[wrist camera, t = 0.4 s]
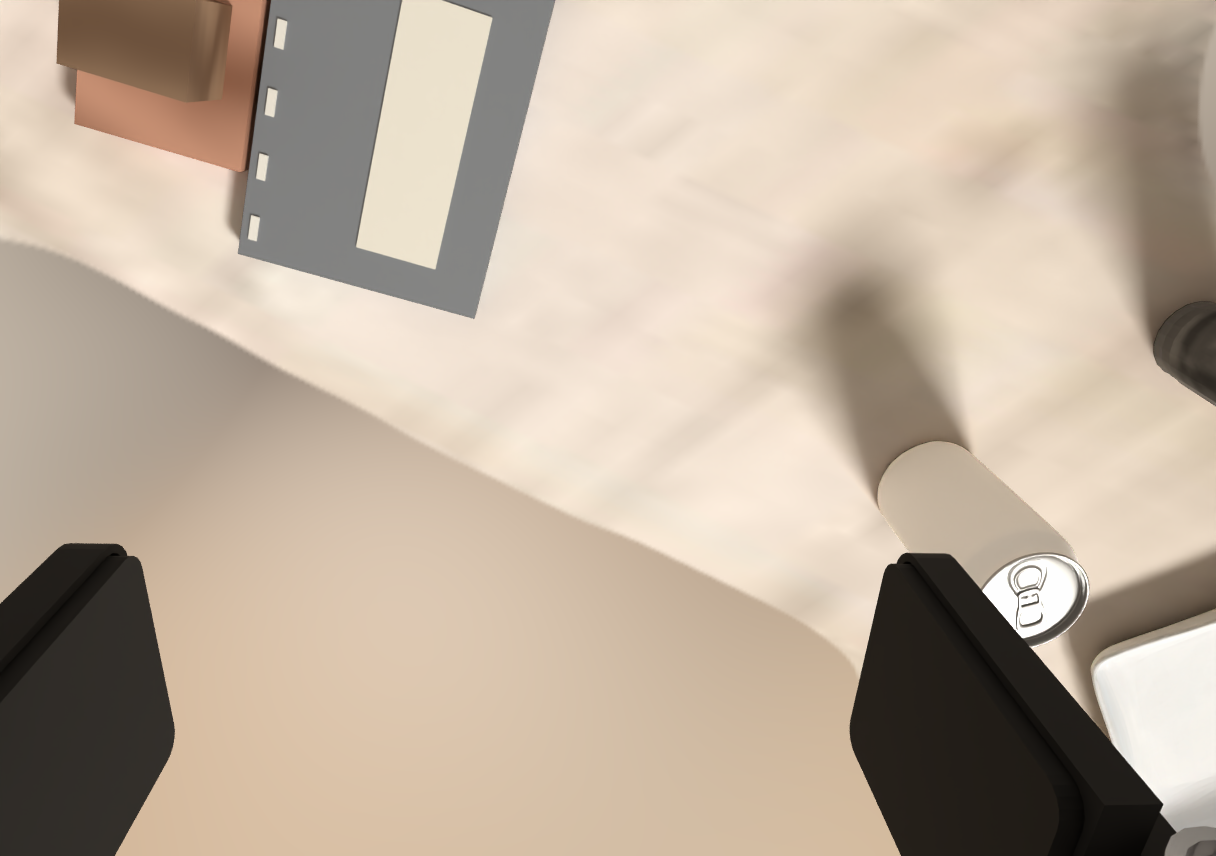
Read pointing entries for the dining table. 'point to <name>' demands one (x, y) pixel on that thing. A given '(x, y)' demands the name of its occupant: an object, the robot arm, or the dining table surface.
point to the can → (985, 537)
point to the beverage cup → (1190, 348)
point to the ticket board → (390, 140)
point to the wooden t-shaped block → (168, 72)
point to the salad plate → (1166, 714)
